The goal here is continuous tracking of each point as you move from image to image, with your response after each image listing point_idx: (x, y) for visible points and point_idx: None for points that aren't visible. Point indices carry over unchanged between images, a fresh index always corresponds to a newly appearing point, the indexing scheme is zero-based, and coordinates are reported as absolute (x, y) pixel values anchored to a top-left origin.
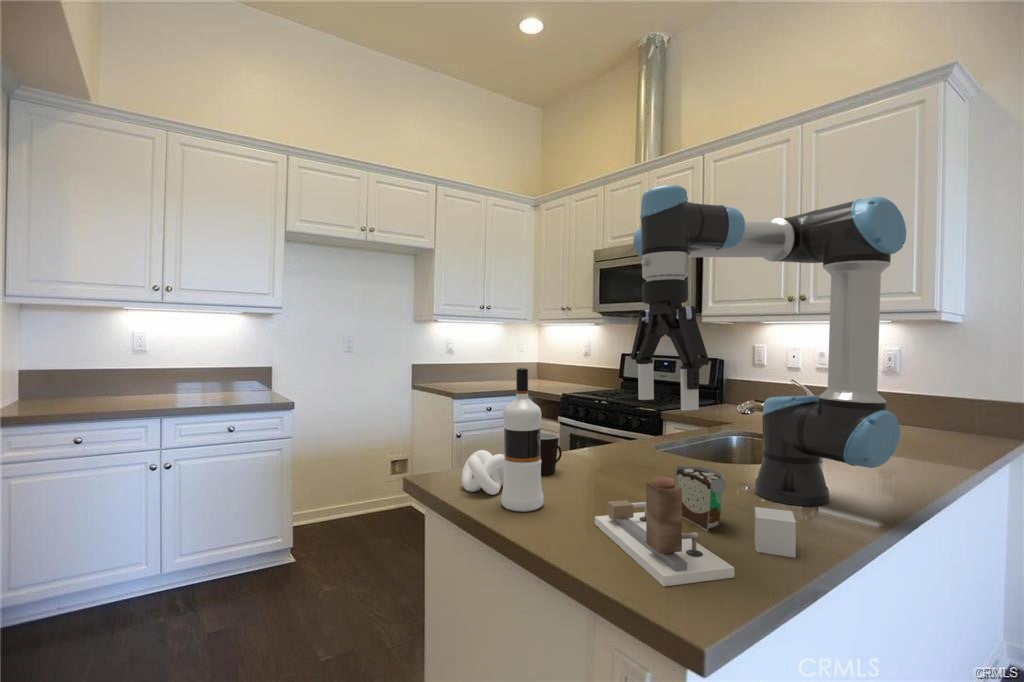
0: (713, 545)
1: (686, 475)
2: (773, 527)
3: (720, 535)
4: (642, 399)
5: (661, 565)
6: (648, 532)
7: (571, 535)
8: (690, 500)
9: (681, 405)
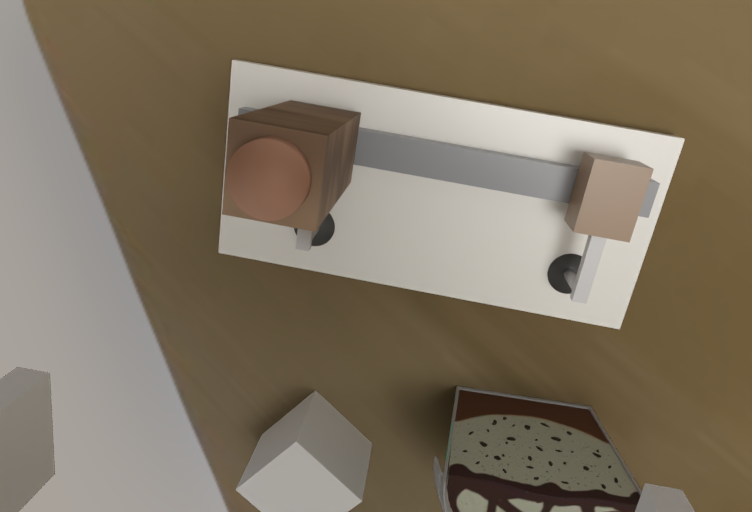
0: (383, 334)
1: (584, 493)
2: (274, 450)
3: (424, 395)
4: (639, 499)
5: (285, 97)
6: (342, 113)
7: (635, 4)
8: (545, 436)
9: (22, 390)
